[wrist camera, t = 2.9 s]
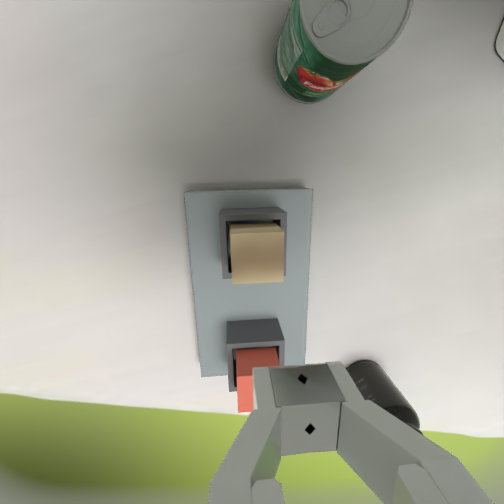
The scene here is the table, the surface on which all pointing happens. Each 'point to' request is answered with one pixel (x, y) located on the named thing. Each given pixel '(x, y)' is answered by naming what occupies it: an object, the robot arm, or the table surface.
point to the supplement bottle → (382, 392)
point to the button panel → (255, 294)
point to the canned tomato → (333, 43)
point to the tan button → (257, 253)
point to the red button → (251, 372)
